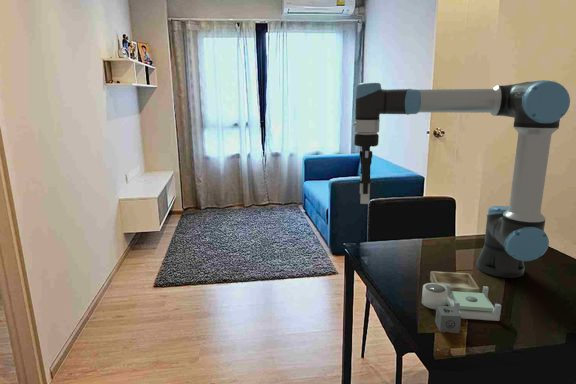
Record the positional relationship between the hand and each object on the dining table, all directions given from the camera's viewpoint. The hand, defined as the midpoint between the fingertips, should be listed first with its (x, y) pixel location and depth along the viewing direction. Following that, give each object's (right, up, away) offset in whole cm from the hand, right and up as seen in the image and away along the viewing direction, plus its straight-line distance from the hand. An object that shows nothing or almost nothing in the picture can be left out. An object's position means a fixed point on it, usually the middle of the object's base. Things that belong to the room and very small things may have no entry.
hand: (364, 198), depth 134 cm
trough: (+28, -29, -2) cm, 41 cm away
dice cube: (+18, -35, -24) cm, 46 cm away
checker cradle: (+28, -32, -15) cm, 45 cm away
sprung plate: (+28, -30, -15) cm, 44 cm away
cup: (+19, -31, -12) cm, 38 cm away
